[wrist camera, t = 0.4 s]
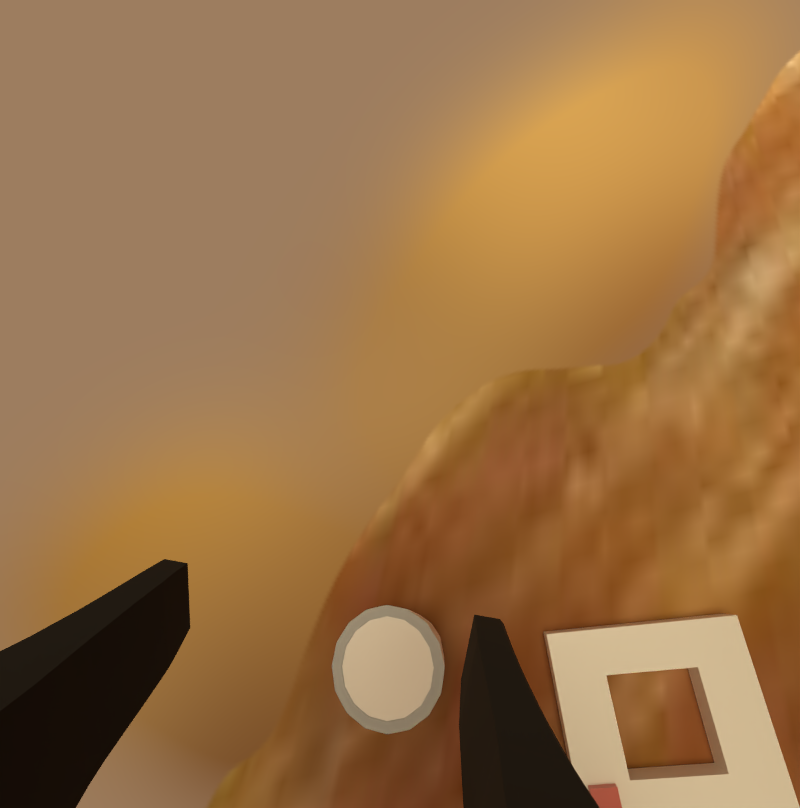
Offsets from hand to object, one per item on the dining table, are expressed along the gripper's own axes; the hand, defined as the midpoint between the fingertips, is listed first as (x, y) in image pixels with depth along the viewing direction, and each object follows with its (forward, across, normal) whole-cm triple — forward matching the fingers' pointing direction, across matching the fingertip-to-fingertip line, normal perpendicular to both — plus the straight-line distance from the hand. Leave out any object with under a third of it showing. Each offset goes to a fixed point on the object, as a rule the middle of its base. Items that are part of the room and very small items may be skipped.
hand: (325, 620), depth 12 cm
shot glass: (+18, -2, +20) cm, 27 cm away
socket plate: (+16, -19, +19) cm, 31 cm away
